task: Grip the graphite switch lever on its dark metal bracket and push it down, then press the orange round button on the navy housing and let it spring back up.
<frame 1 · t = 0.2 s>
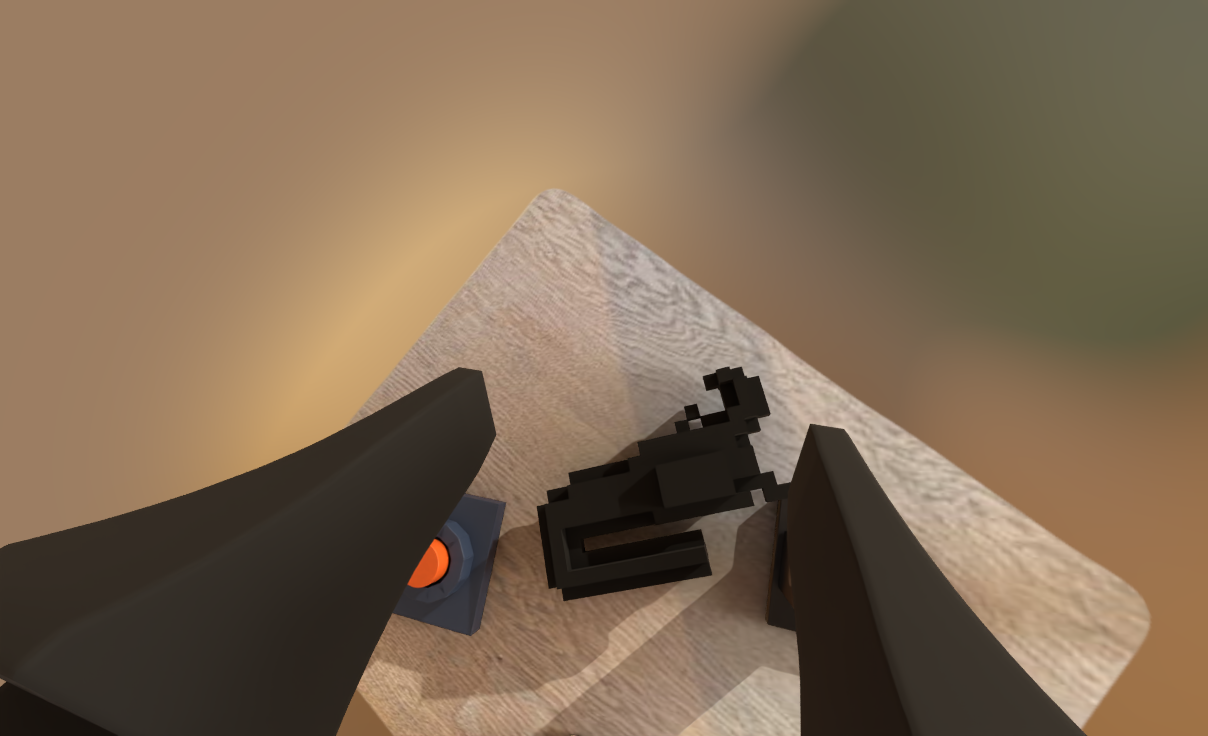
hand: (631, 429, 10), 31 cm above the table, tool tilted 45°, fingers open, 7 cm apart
tool: (658, 481, 40), on the table, touching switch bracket
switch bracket: (811, 562, 36), on the table
start button: (424, 562, 38), point 4 cm above the table, slide at 0.1 cm
button box: (448, 553, 42), on the table
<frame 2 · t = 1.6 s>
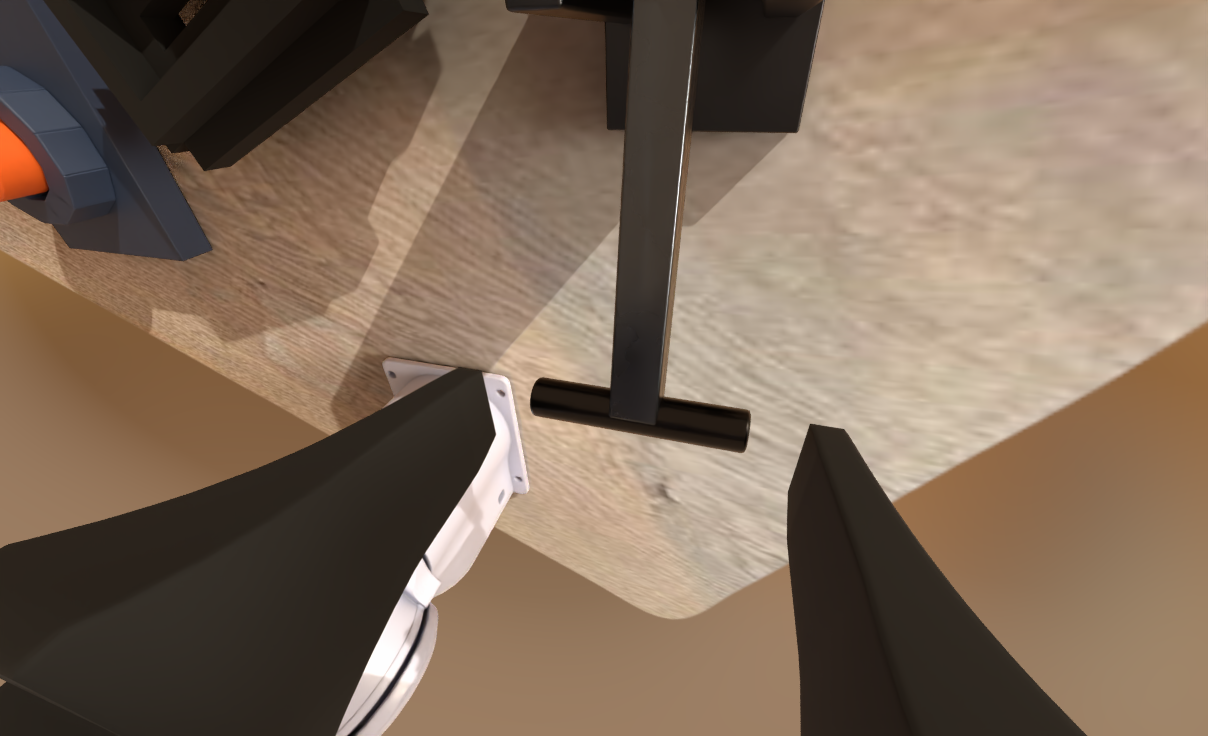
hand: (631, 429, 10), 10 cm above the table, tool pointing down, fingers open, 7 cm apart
button box: (91, 140, 23), on the table
switch lever: (657, 154, 9), point 8 cm above the table, hinge at 15.0°
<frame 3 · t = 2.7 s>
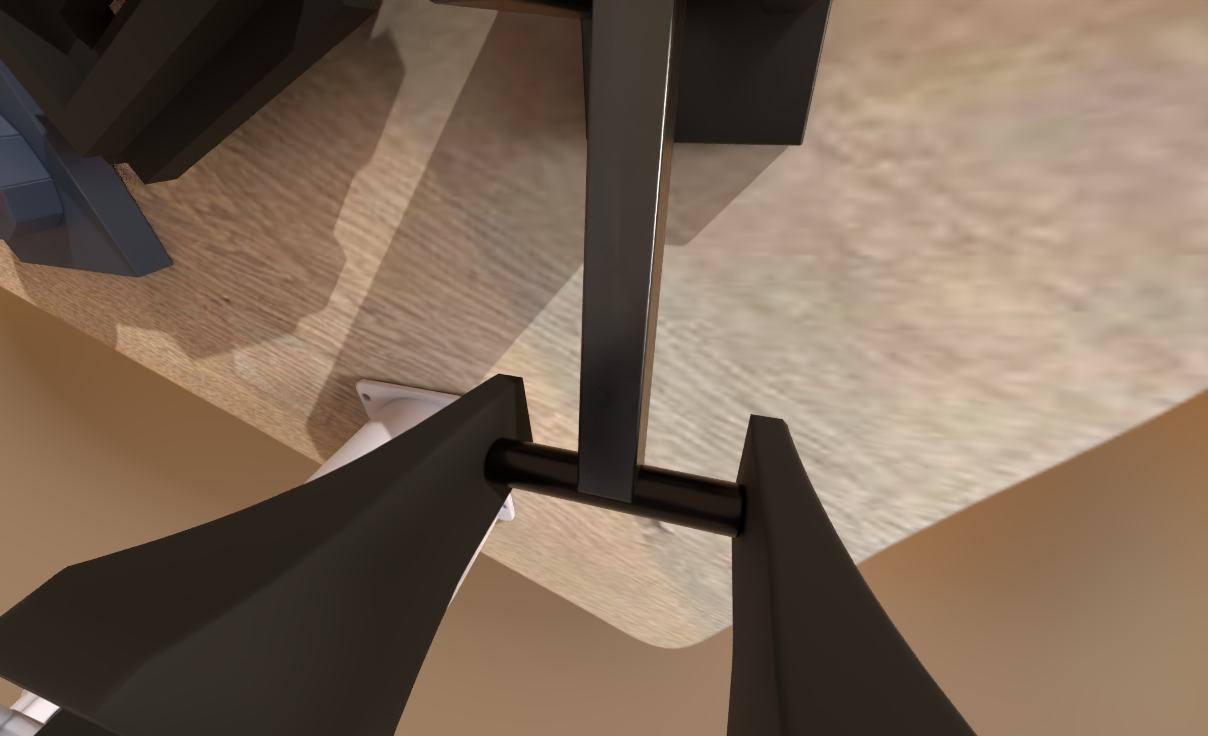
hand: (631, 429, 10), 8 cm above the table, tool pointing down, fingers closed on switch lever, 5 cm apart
button box: (38, 147, 22), on the table
switch lever: (629, 182, 7), point 8 cm above the table, hinge at 15.0°, touching gripper
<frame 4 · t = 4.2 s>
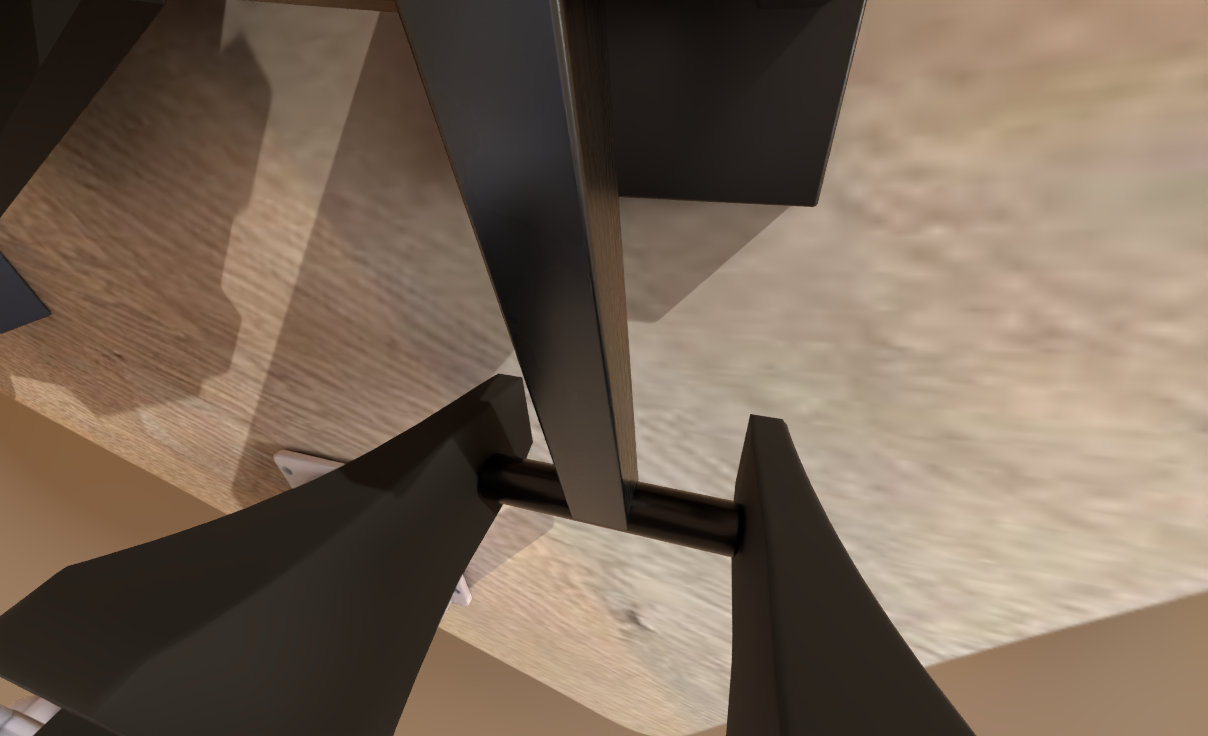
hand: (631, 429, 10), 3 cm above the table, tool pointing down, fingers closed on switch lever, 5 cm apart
switch lever: (560, 267, 5), point 6 cm above the table, hinge at -13.5°, touching gripper
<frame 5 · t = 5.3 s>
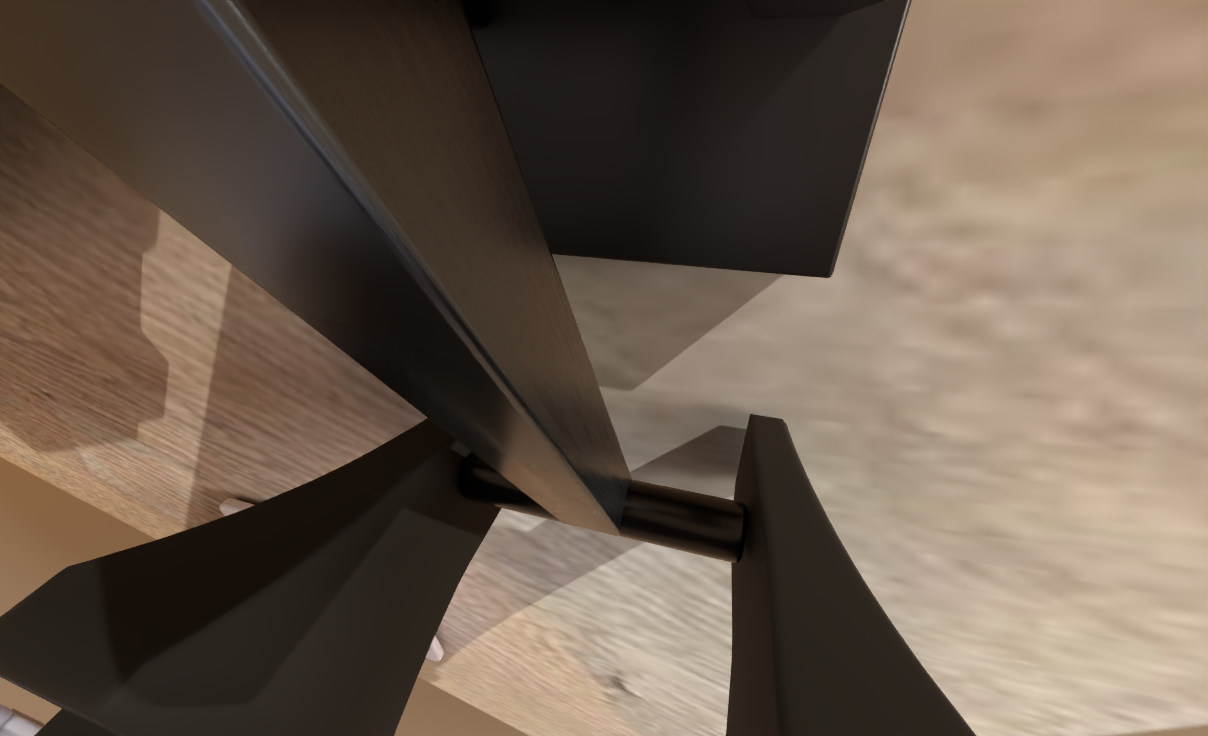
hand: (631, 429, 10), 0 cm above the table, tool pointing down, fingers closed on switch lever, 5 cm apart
switch lever: (476, 334, 3), point 5 cm above the table, hinge at -26.7°, touching gripper
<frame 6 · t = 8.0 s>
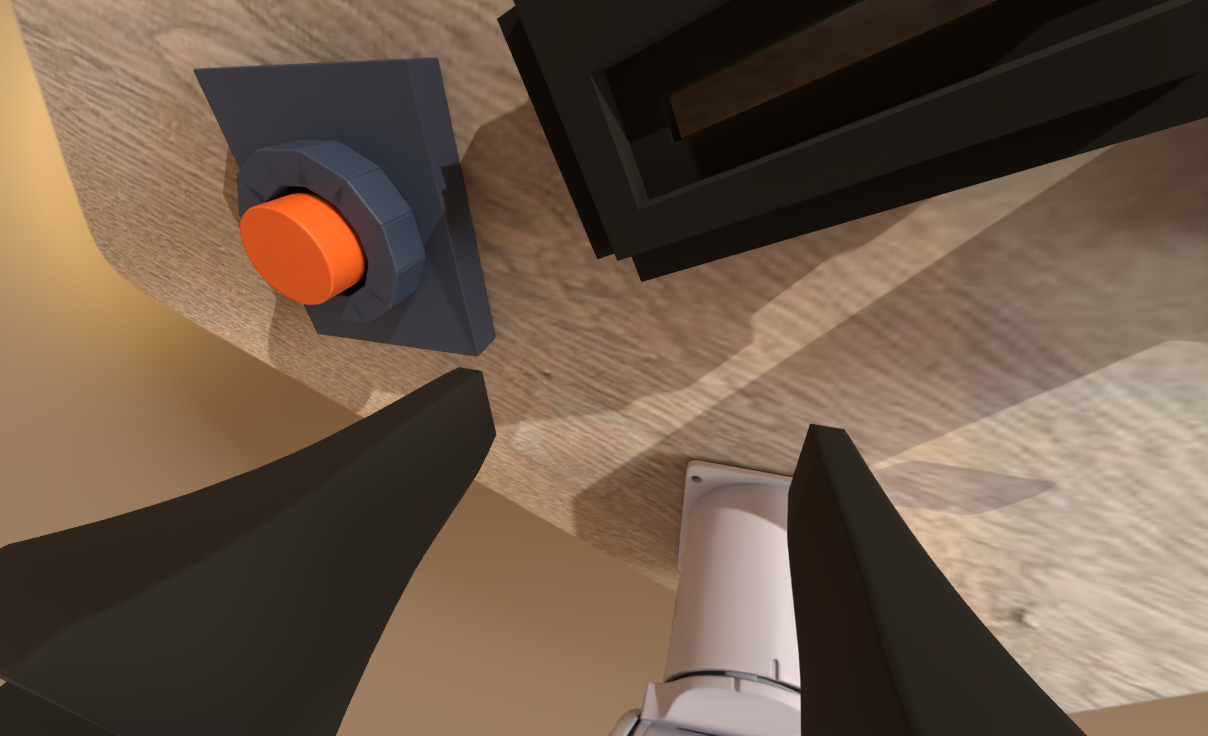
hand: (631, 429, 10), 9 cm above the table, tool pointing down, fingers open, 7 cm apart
start button: (305, 249, 16), point 4 cm above the table, slide at 0.1 cm
button box: (379, 216, 19), on the table
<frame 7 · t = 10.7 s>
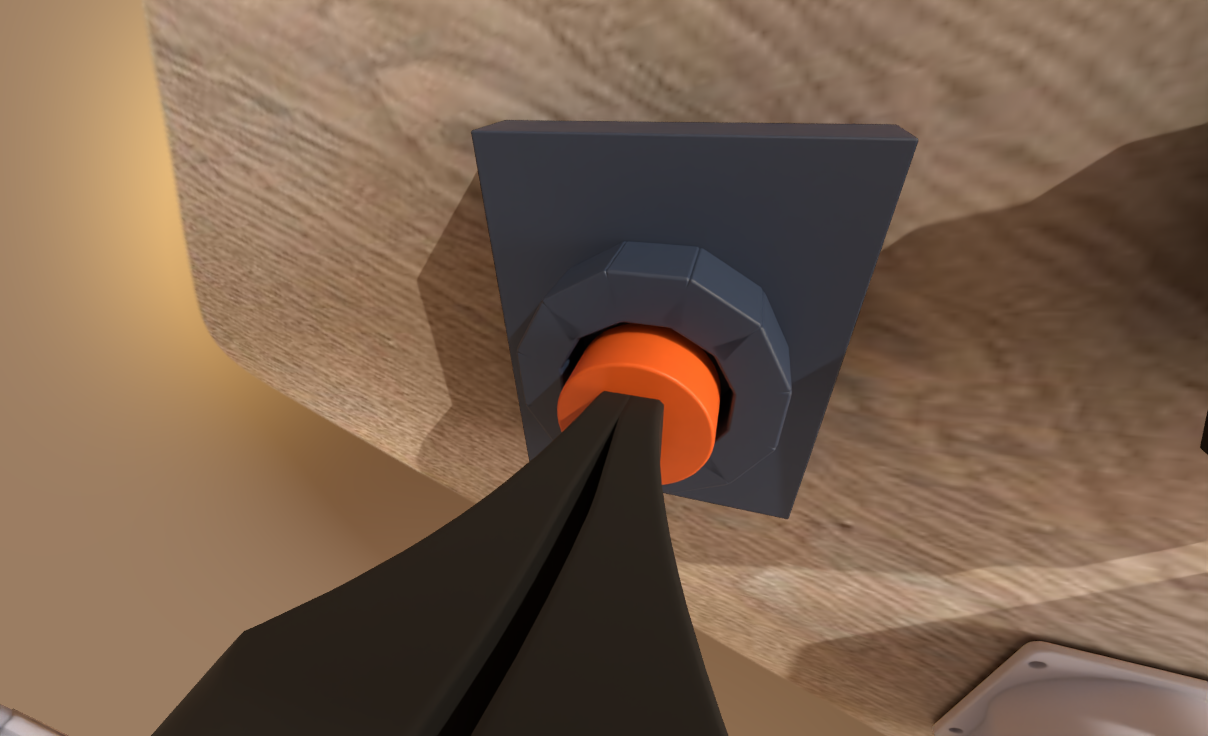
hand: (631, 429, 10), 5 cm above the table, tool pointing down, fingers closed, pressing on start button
start button: (640, 406, 11), point 4 cm above the table, slide at -0.1 cm, touching gripper
button box: (667, 327, 14), on the table
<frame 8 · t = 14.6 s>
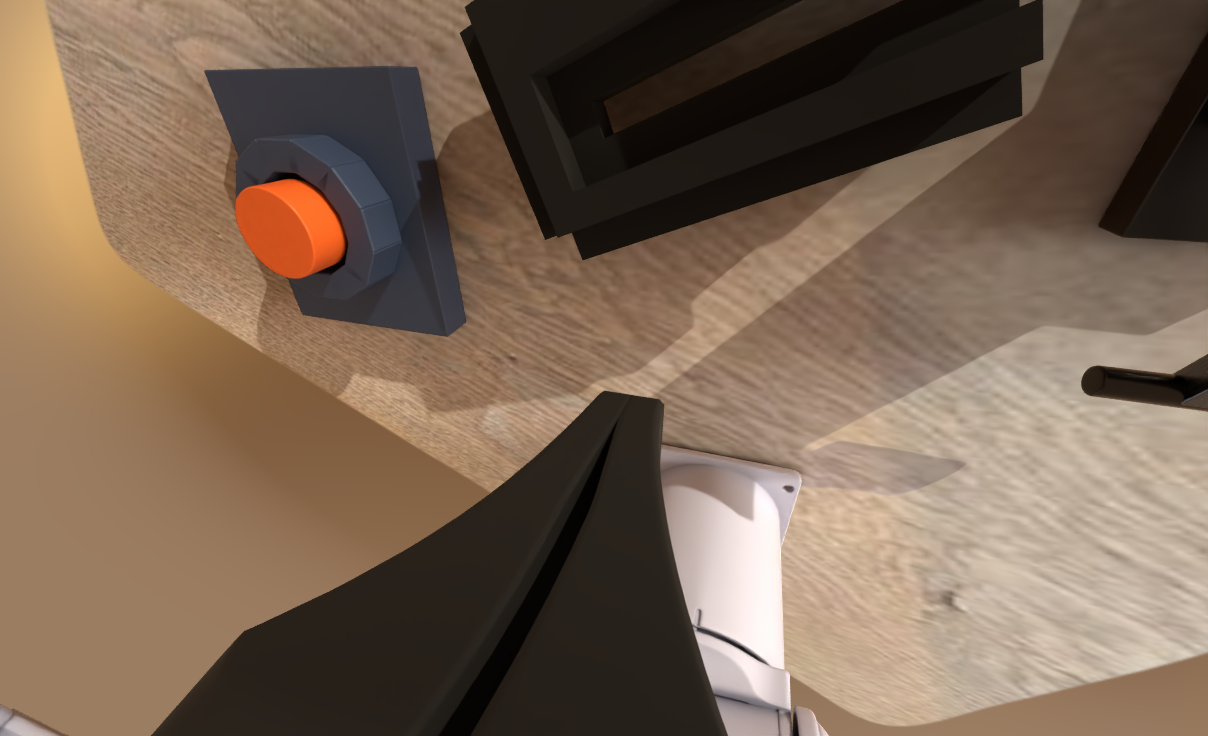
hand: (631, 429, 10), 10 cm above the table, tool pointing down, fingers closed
start button: (293, 229, 18), point 4 cm above the table, slide at 0.1 cm
button box: (363, 207, 22), on the table
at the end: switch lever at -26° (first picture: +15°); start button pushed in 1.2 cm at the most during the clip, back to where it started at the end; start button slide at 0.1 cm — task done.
